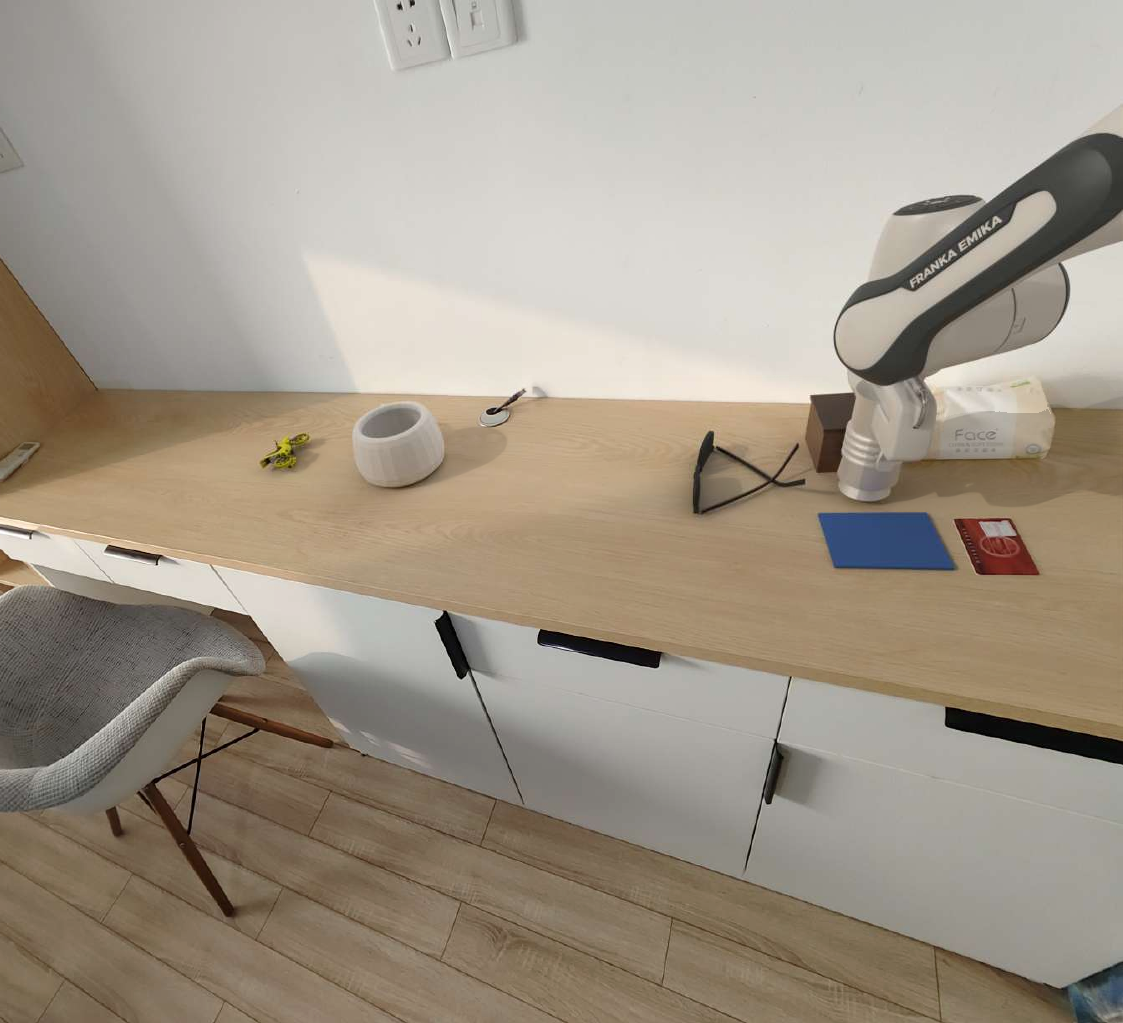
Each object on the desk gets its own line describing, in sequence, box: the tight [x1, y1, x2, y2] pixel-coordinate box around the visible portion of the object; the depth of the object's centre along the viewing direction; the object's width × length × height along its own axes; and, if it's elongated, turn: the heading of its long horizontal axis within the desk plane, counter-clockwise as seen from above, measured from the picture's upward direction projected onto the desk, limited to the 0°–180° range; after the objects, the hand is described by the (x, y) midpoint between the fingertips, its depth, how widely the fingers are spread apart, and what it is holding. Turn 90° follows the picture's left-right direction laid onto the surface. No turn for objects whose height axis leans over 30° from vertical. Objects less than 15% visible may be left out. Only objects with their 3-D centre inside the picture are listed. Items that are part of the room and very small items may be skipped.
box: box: [804, 391, 856, 473], centre depth 87 cm, size 9×9×8 cm
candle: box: [836, 380, 903, 502], centre depth 77 cm, size 7×7×15 cm
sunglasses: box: [692, 430, 806, 515], centre depth 88 cm, size 17×14×5 cm
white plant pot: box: [351, 400, 446, 488], centre depth 112 cm, size 21×17×10 cm
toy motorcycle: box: [259, 432, 311, 470], centre depth 124 cm, size 12×4×7 cm
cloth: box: [817, 511, 956, 571], centre depth 76 cm, size 12×10×1 cm
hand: (873, 449), depth 78 cm, fingers closed on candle, 7 cm apart
